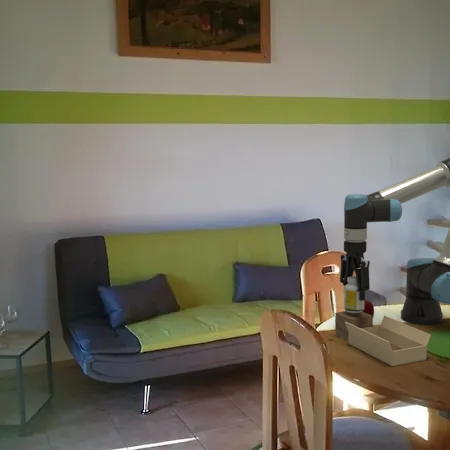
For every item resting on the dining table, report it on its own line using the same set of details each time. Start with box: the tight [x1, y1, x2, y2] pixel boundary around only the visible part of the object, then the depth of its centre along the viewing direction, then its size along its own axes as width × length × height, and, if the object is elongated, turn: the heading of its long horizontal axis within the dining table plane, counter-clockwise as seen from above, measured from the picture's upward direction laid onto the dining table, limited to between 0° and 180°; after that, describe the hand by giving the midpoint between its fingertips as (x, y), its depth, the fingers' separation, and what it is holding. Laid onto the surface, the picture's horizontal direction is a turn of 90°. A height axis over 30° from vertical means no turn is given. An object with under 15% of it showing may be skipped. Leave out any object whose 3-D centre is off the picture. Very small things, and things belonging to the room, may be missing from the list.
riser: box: [334, 310, 374, 342], centre depth 219 cm, size 9×9×8 cm
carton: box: [345, 315, 432, 367], centre depth 204 cm, size 16×23×8 cm
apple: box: [362, 299, 375, 317], centre depth 230 cm, size 10×10×10 cm
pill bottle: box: [343, 275, 363, 313], centre depth 217 cm, size 6×6×12 cm
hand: (353, 306), depth 218 cm, fingers closed on pill bottle, 6 cm apart
